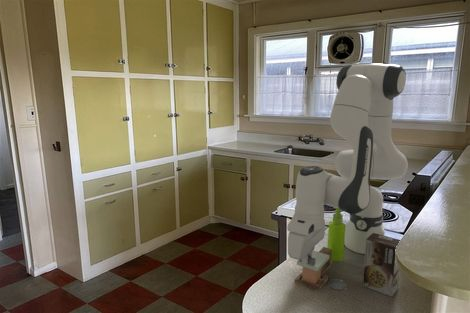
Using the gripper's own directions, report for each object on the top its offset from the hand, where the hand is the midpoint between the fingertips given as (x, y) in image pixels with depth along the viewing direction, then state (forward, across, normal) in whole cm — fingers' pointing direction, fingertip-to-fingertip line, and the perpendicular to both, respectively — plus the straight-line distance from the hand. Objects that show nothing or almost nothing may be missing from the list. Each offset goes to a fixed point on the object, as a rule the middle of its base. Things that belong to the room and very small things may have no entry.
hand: (306, 260), depth 105 cm
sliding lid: (+2, -4, +1) cm, 5 cm away
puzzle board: (+8, -8, 0) cm, 12 cm away
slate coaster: (+8, -6, +8) cm, 13 cm away
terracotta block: (+8, -3, 0) cm, 9 cm away
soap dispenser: (+8, -24, +2) cm, 25 cm away
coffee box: (+8, -13, +20) cm, 25 cm away
